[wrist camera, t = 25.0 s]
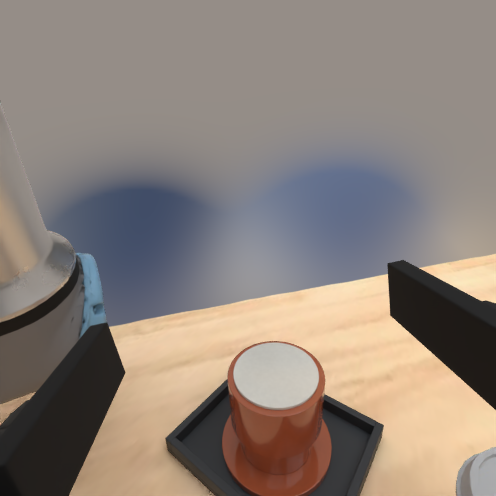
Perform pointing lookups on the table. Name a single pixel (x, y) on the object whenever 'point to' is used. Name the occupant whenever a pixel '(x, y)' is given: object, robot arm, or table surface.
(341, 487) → the drip tray
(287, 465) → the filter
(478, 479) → the disposable coffee cup
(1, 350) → the robot arm
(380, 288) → the table surface
